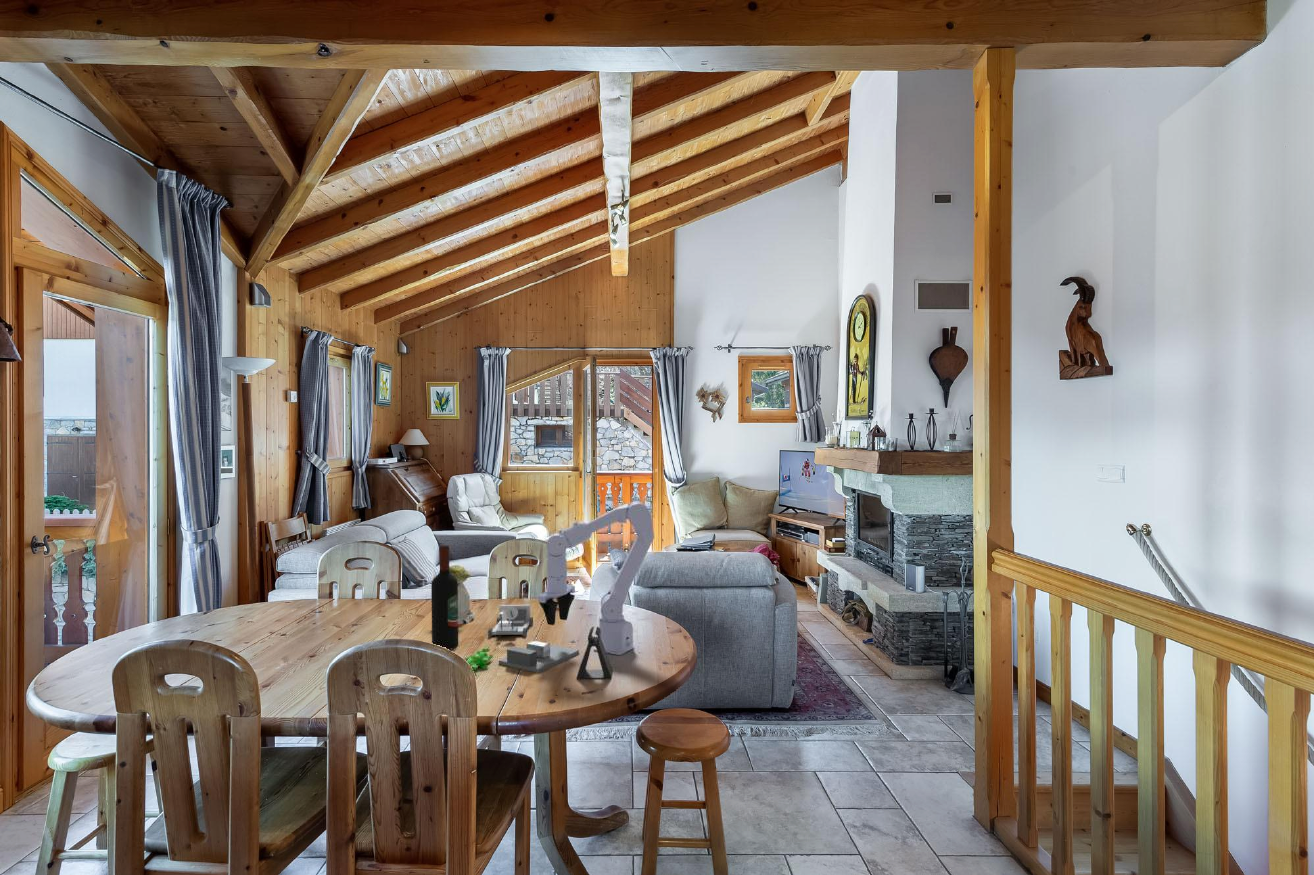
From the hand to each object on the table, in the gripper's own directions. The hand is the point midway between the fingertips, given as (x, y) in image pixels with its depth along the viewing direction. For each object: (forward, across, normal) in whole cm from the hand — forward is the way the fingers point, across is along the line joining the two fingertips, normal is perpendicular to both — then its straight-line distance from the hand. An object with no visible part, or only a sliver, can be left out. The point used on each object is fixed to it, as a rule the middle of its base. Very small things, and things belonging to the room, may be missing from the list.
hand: (557, 622), depth 202 cm
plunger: (+7, +8, -2) cm, 11 cm away
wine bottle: (+9, +13, -32) cm, 36 cm away
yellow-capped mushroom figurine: (+9, -9, -51) cm, 52 cm away
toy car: (+9, -8, -25) cm, 28 cm away
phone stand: (+9, +11, +21) cm, 25 cm away
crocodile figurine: (+9, +24, -10) cm, 27 cm away
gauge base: (+8, +8, 0) cm, 12 cm away
